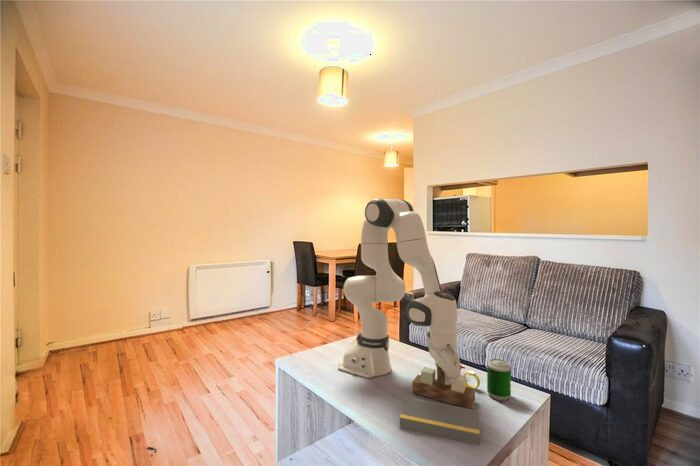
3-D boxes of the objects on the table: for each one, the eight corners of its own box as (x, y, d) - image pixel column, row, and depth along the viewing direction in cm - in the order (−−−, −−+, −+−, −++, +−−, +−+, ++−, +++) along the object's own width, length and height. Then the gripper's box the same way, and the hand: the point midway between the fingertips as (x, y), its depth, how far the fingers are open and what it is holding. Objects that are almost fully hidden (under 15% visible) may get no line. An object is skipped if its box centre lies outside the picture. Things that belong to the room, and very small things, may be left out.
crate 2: (451, 390, 108) (451, 378, 108) (453, 384, 111) (454, 373, 111) (463, 393, 106) (463, 381, 106) (465, 387, 109) (466, 376, 109)
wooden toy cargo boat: (412, 392, 114) (412, 364, 114) (417, 385, 119) (418, 358, 119) (471, 409, 104) (472, 378, 104) (474, 400, 109) (475, 371, 109)
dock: (399, 427, 95) (399, 416, 95) (407, 406, 106) (407, 396, 106) (479, 445, 87) (479, 433, 87) (478, 420, 98) (478, 409, 98)
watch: (480, 389, 117) (481, 374, 117) (476, 392, 115) (478, 376, 115) (465, 382, 122) (466, 367, 121) (461, 385, 120) (462, 370, 119)
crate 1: (421, 382, 113) (421, 371, 113) (424, 377, 117) (424, 366, 117) (432, 385, 111) (432, 373, 111) (435, 380, 115) (435, 369, 115)
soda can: (509, 404, 107) (509, 368, 107) (485, 397, 111) (485, 363, 111) (511, 394, 114) (512, 360, 113) (488, 388, 118) (489, 356, 117)
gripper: (465, 351, 101) (465, 394, 101) (441, 329, 121) (441, 365, 122) (446, 352, 100) (446, 395, 101) (425, 330, 121) (425, 366, 121)
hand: (443, 378), depth 111 cm, fingers closed on wooden toy cargo boat, 5 cm apart
